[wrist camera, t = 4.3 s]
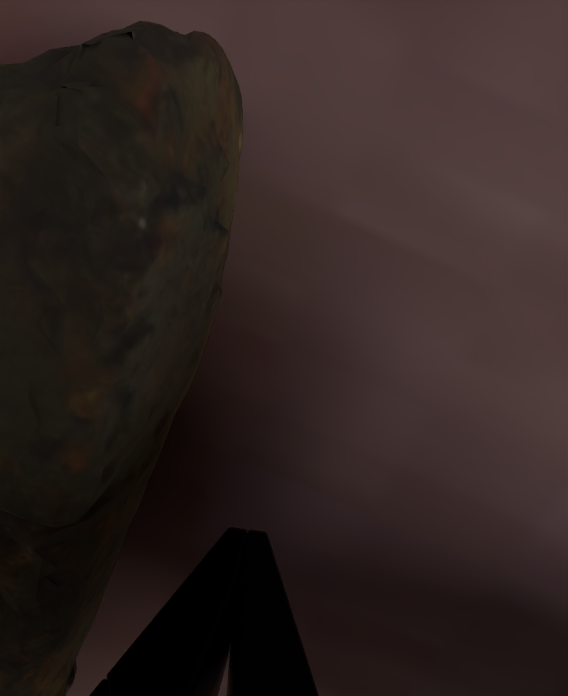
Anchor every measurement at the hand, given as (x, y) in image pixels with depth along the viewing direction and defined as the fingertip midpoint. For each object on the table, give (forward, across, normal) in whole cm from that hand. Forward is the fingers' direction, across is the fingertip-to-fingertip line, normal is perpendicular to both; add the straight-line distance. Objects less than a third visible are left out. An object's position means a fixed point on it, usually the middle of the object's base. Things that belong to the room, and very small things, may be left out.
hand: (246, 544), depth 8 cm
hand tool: (+2, +5, 0) cm, 5 cm away
